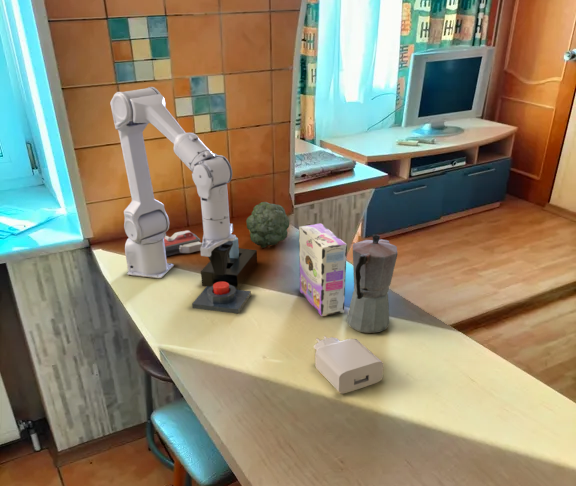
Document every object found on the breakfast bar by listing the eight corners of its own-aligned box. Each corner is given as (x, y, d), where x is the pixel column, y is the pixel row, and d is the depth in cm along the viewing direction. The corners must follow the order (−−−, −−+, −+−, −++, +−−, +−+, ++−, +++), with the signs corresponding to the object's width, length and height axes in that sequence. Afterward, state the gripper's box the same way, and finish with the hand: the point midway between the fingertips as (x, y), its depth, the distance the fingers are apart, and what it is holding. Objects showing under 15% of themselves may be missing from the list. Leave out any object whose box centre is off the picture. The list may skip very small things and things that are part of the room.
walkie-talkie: (161, 261, 155) (228, 245, 164) (159, 246, 153) (227, 230, 162) (149, 250, 162) (215, 235, 171) (147, 235, 160) (213, 220, 169)
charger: (340, 342, 120) (382, 381, 108) (300, 354, 116) (338, 395, 105) (341, 322, 117) (384, 359, 106) (300, 333, 114) (339, 373, 102)
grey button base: (192, 308, 133) (191, 296, 132) (207, 290, 141) (206, 279, 139) (238, 314, 131) (237, 302, 129) (251, 295, 138) (250, 284, 137)
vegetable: (279, 220, 174) (304, 212, 161) (263, 259, 172) (286, 254, 158) (245, 200, 169) (267, 189, 156) (227, 239, 167) (249, 232, 153)
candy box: (345, 313, 130) (348, 243, 122) (320, 317, 129) (322, 248, 120) (321, 286, 142) (322, 221, 133) (298, 290, 140) (298, 225, 132)
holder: (202, 286, 143) (200, 271, 141) (224, 260, 155) (223, 246, 153) (238, 290, 140) (237, 275, 138) (257, 264, 153) (256, 249, 151)
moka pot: (399, 313, 130) (407, 227, 120) (378, 347, 118) (385, 256, 108) (358, 304, 133) (363, 221, 123) (334, 337, 121) (336, 248, 111)
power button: (211, 294, 133) (210, 287, 132) (217, 287, 136) (216, 280, 135) (226, 296, 132) (225, 289, 132) (231, 289, 135) (231, 282, 134)
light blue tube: (229, 271, 150) (226, 238, 145) (232, 267, 152) (230, 234, 147) (238, 272, 149) (236, 238, 145) (241, 268, 151) (239, 235, 147)
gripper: (221, 229, 118) (225, 289, 125) (244, 205, 130) (247, 262, 137) (188, 226, 120) (194, 286, 127) (214, 203, 132) (219, 259, 139)
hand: (220, 273), depth 132 cm, fingers closed
